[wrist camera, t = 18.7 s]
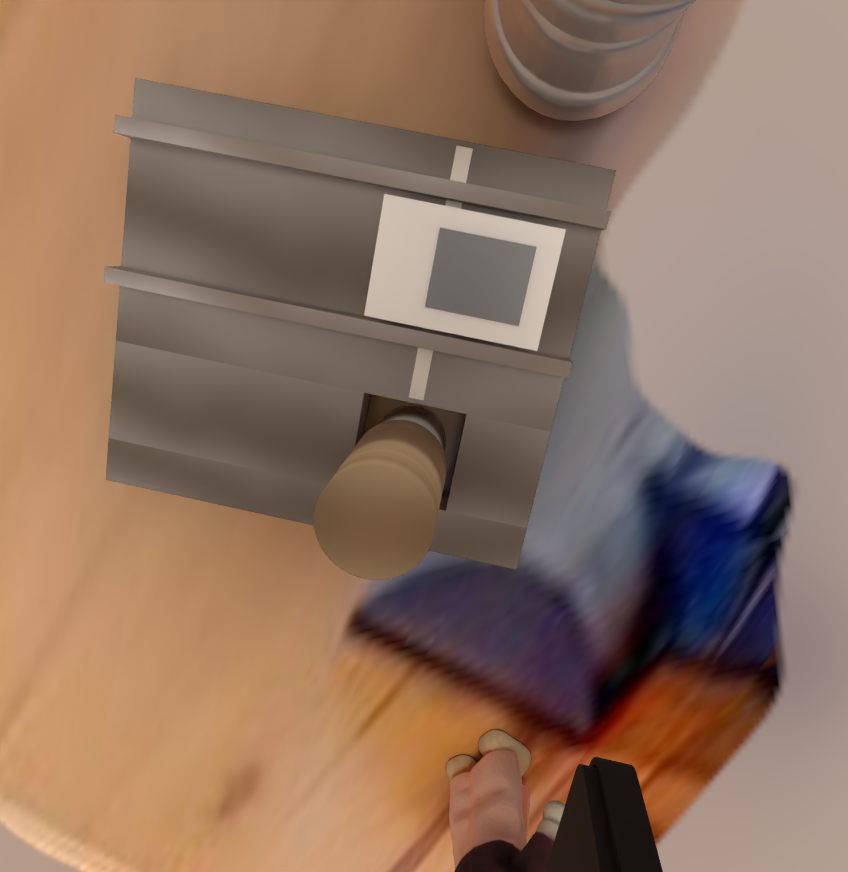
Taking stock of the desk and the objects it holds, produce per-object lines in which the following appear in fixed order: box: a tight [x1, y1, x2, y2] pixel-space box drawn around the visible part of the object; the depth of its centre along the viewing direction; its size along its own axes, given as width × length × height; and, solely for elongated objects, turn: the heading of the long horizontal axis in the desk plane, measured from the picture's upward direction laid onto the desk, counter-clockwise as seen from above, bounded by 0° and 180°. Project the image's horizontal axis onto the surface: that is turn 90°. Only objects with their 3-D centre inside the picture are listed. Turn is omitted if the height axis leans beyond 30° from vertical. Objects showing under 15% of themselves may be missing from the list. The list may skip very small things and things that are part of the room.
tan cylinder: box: [314, 406, 447, 580], centre depth 25 cm, size 4×4×10 cm
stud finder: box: [364, 194, 566, 351], centre depth 24 cm, size 4×6×3 cm, turn 79°
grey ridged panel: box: [104, 78, 616, 569], centre depth 28 cm, size 16×18×3 cm
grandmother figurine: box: [446, 730, 565, 872], centre depth 28 cm, size 8×4×13 cm, turn 142°
